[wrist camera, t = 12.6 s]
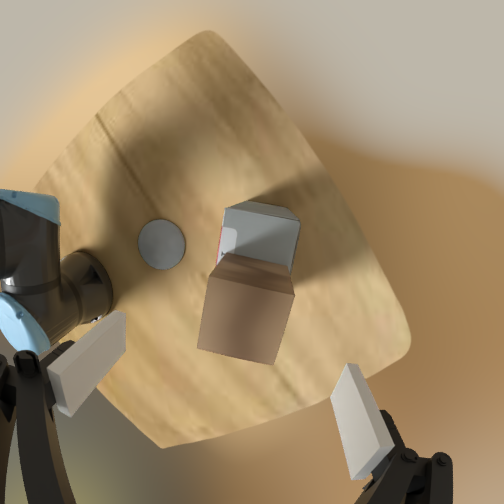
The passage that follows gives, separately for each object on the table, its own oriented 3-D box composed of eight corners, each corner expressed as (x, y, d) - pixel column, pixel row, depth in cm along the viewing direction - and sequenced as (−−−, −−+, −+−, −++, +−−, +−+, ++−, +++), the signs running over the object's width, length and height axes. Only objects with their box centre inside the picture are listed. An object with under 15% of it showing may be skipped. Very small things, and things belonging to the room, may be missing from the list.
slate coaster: (137, 261, 49) (135, 262, 48) (143, 214, 47) (141, 215, 46) (181, 273, 49) (179, 274, 48) (189, 225, 47) (188, 225, 46)
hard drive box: (244, 199, 45) (225, 202, 26) (289, 208, 45) (305, 218, 25) (228, 287, 48) (203, 346, 29) (271, 296, 48) (272, 359, 29)
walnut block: (215, 308, 28) (196, 348, 20) (226, 252, 26) (208, 275, 19) (272, 321, 28) (273, 365, 20) (287, 266, 26) (294, 295, 19)
